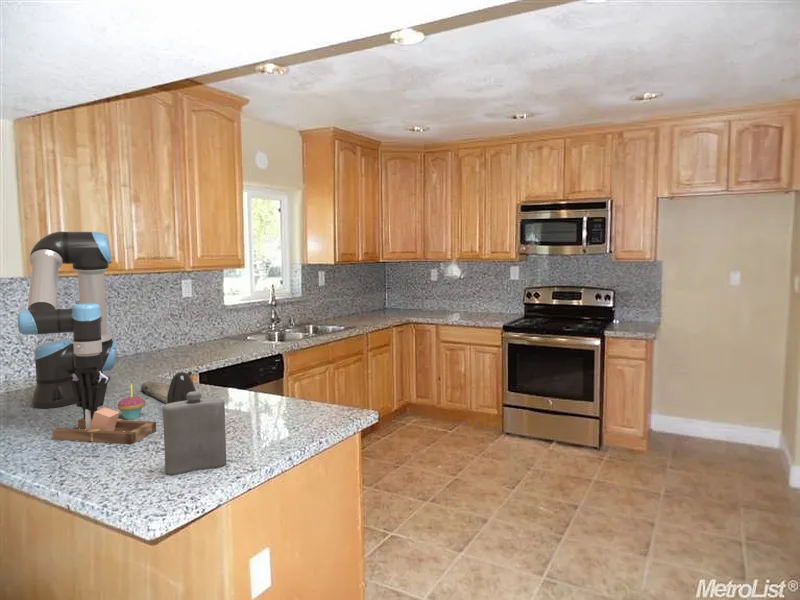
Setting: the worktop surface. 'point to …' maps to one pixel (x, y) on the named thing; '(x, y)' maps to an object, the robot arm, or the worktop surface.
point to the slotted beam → (108, 432)
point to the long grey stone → (156, 390)
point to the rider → (104, 419)
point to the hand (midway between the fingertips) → (91, 429)
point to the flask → (194, 434)
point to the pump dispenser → (180, 387)
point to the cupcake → (131, 406)
